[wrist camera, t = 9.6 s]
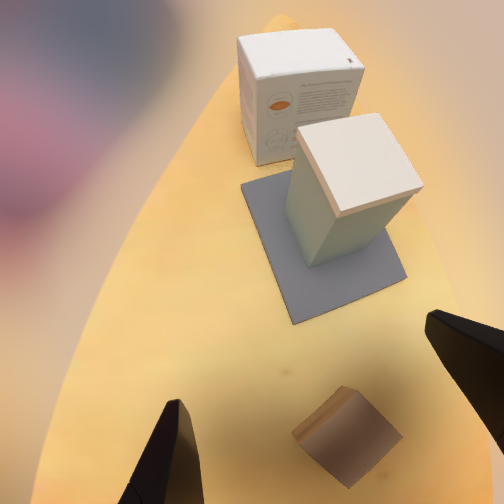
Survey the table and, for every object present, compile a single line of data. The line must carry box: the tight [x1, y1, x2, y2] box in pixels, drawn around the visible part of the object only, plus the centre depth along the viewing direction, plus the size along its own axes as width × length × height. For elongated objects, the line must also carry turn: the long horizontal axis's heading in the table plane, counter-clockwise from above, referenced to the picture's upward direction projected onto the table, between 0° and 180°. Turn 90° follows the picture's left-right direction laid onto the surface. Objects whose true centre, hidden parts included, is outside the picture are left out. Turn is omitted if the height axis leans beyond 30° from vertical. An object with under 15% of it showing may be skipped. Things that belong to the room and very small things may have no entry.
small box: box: [237, 28, 365, 166], centre depth 24 cm, size 8×6×10 cm
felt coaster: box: [241, 170, 407, 325], centre depth 25 cm, size 12×10×1 cm
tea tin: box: [284, 112, 424, 269], centre depth 20 cm, size 5×5×10 cm
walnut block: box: [292, 386, 403, 489], centre depth 19 cm, size 5×5×4 cm
